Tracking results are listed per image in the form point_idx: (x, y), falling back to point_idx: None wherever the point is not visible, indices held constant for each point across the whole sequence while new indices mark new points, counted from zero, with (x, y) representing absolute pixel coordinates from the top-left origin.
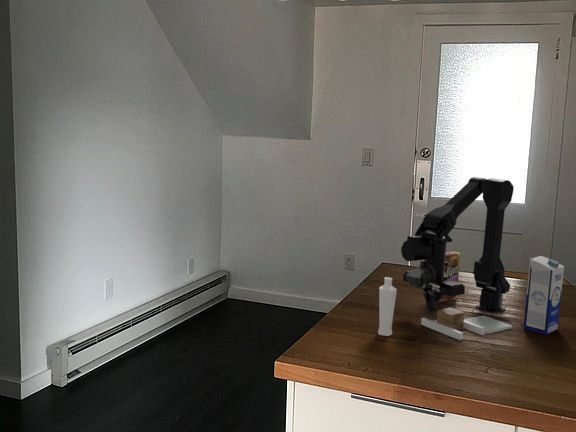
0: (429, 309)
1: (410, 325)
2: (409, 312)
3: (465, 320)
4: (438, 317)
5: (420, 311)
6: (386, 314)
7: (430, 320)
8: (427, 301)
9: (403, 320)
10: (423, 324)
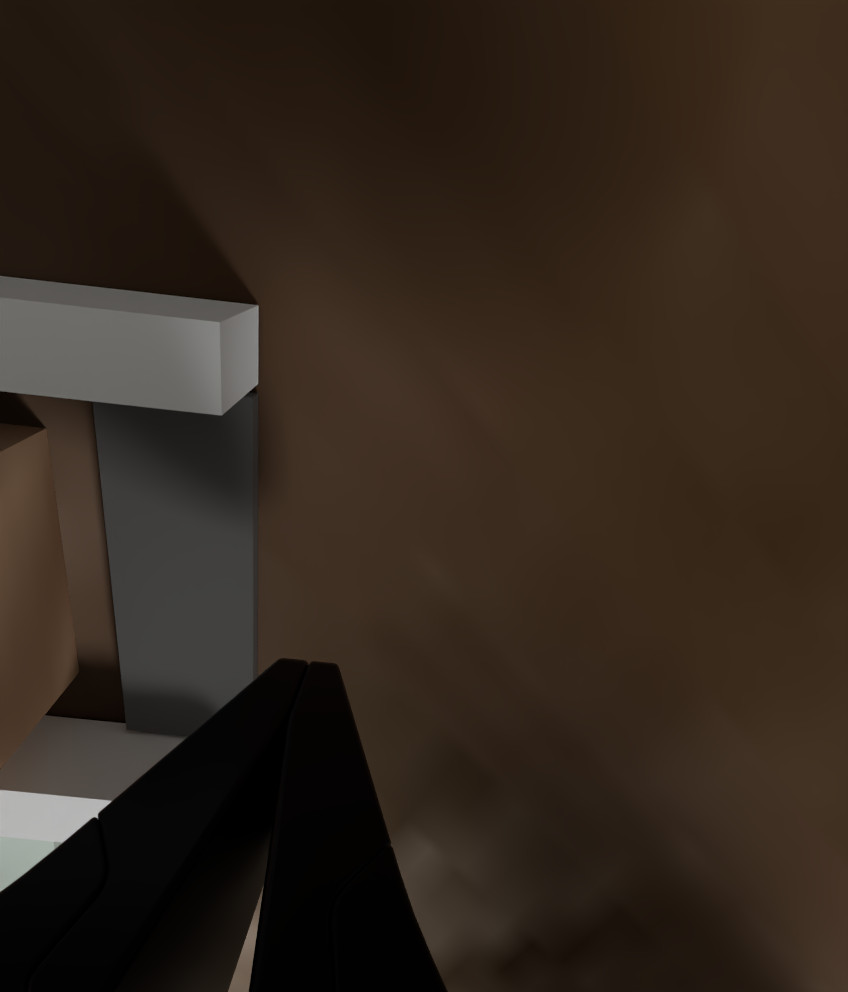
0: (289, 684)
1: (321, 54)
2: (793, 640)
3: (20, 876)
4: None
5: (698, 784)
6: None
7: (17, 362)
8: (306, 820)
9: (617, 199)
10: (197, 302)
